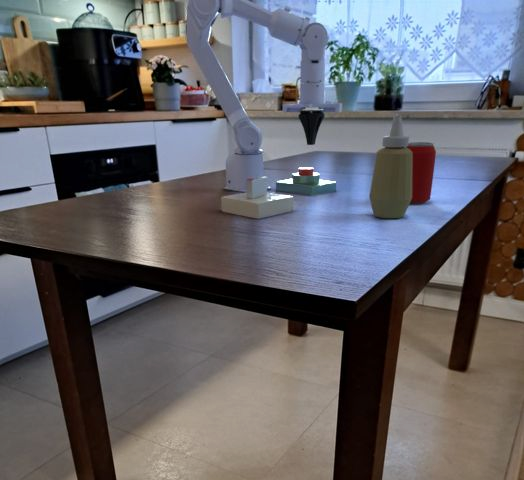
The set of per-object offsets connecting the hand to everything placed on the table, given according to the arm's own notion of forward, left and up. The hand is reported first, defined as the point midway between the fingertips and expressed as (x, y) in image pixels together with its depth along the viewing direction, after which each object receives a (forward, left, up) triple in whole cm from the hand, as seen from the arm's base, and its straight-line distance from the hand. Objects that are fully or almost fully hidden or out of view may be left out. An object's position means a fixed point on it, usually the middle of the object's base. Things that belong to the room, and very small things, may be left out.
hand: (311, 144), depth 128 cm
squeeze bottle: (+34, -16, -11) cm, 39 cm away
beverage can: (+30, 0, -11) cm, 32 cm away
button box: (+2, -4, -10) cm, 11 cm away
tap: (+11, -30, -7) cm, 32 cm away
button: (+2, -4, -7) cm, 8 cm away
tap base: (+11, -30, -10) cm, 33 cm away
